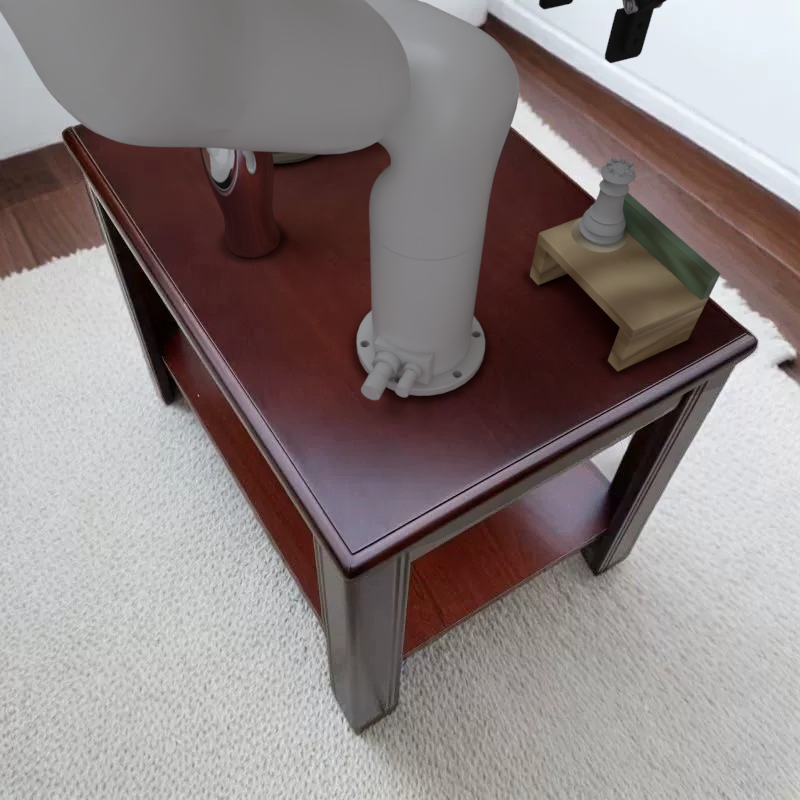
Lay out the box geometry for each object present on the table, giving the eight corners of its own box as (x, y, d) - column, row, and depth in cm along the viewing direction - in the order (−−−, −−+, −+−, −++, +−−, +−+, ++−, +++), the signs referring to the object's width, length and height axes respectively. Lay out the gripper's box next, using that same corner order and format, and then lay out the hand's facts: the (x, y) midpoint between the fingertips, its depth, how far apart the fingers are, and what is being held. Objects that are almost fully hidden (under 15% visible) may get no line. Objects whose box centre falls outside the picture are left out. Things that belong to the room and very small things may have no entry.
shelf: (688, 339, 73) (720, 273, 66) (617, 372, 71) (643, 306, 64) (596, 250, 81) (616, 182, 74) (529, 276, 79) (543, 208, 71)
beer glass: (297, 239, 82) (282, 116, 70) (249, 270, 78) (225, 148, 66) (256, 211, 84) (234, 89, 72) (208, 240, 81) (178, 118, 69)
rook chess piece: (590, 212, 76) (609, 144, 69) (630, 229, 74) (653, 161, 68) (570, 235, 73) (588, 167, 67) (611, 253, 72) (633, 185, 66)
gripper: (527, -262, 51) (496, -5, 65) (686, -191, 42) (611, 91, 55) (615, -270, 53) (567, -20, 67) (785, -204, 44) (689, 71, 57)
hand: (587, 30), depth 61 cm, fingers open, 9 cm apart
